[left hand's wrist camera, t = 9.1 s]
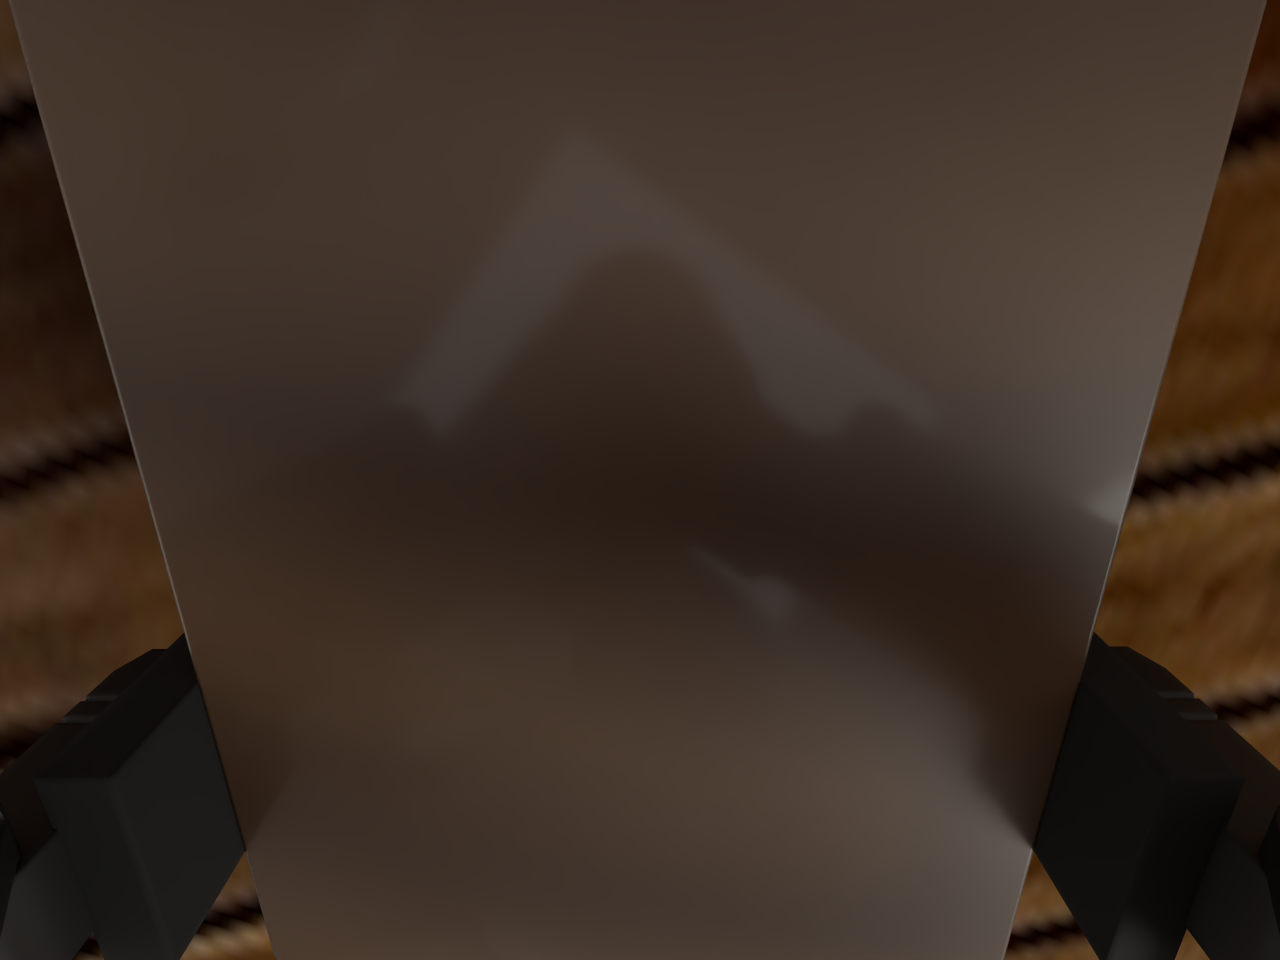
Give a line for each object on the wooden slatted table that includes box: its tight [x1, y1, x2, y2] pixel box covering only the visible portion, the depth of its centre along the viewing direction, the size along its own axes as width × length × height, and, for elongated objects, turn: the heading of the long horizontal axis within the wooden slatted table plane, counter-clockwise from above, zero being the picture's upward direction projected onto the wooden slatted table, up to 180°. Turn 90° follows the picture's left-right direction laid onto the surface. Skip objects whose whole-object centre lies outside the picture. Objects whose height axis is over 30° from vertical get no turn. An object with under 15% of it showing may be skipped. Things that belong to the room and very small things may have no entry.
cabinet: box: [8, 0, 1267, 960], centre depth 13 cm, size 18×10×12 cm, turn 0°
